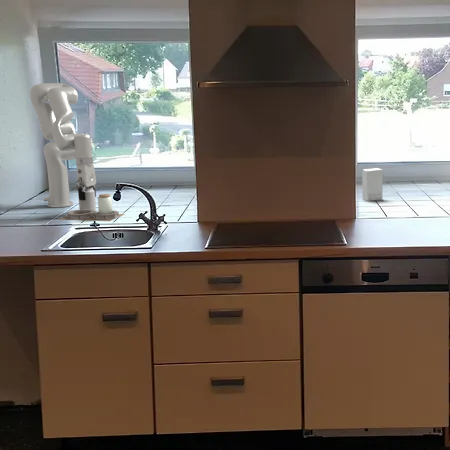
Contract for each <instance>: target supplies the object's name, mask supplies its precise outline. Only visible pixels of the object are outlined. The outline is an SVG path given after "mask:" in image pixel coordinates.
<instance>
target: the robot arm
mask: <svg viewBox="0 0 450 450" xmlns="http://www.w3.org/2000/svg"><path fill="white" fill-rule="evenodd" d="M29 94H30V97H29V98H30V101H31V104H32V107H33V109H34V110H35V112H36V114H37V117H38V121H39V126H40V129H41V132H42V133H41V134H42V136H43V138H44V139H45V140H48V141H51V142H48V143H46V144H45V145H44V147H43V154H44V159H45V162H46V170H47V178H48V179H47V180H48V190H49V193H48V194H49V196H44V198H43V202H47V203H46V204H47V207H48V208H65V207H67V208H68V207H70V206H73V205H74V201H72V200H71V199H70V187H69V185H70V184H69V175H68V174H69V173H68V168H67V166H66V165H65V164H64V163H63V161H70V160H75V164H76V182H75V186H76V189H77V192H78V193H77V195H78V194H79V196H78V201H79V200H86V196H85V192H84V190H85V187H93V190H94V191H95V198H97V194H96V193H97V190H96V186H97V177H96V169H95V165H94V161H93V159H94V158H93V151H92V138H91V136H90V134H88V133H86V134H85V133H77V132H76V129H75V128H76V127H75V125H74V124H73V122H72V121H71V120H72V119H73V118H74V112H73V110H72V107H71V105H72V106H73V105H76V104H77V103H78V101H79V94H78V91H77V90H76V89H75V87H73V86H71V85H69V84H66V83H62V82H54V83H53V82H51V83H49V82H48V83H47V82H45V83H38V84H34V85H33V86H31V88H30V91H29ZM48 102H49V103H48ZM53 140H54V141H53ZM82 187H83V188H82Z"/></svg>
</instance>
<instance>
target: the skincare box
mask: <svg viewBox="0 0 450 450" xmlns="http://www.w3.org/2000/svg"><path fill="white" fill-rule="evenodd" d="M361 173H362V174H361V175H362V176H361V177H362V178H361V182H362V183H361V185H362V190H361V191H362V192H361V193H362V195H361V196H362V200H364V201H366V202H370V201H379V200H383V182H384V181H383V180H384V179H383V178H384V176H383V173H384V170H383V169H382V168H379V167H374V168H364V169H362V170H361Z"/></svg>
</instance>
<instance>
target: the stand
mask: <svg viewBox="0 0 450 450" xmlns="http://www.w3.org/2000/svg"><path fill="white" fill-rule="evenodd" d="M124 215H125V214H124V213H120V212H119V211H117V210H113V213H112V214H99V210H96V211H95V210H91V209H81V210H80V209H74V210H73V209H72V210H70V211H67V212H66V215H65V216H62V217H60V218H59V220H60V221H61V220H63V221H64V220H66V221H68V220H69V221H94V222H95V221H97V222H111V221H113V220H115V219H118V218H121V217H122V216H124Z"/></svg>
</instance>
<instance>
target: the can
mask: <svg viewBox="0 0 450 450" xmlns="http://www.w3.org/2000/svg"><path fill="white" fill-rule="evenodd" d="M81 188H83V187H81ZM84 192H85V196H86V200H79V199H78V207H79V209H78V210H81V209H91V210H95V211H96V212H97V205H96V197H95V191H94V190H93V187H86V186H85V190H84ZM77 195H78V197H79V194H78V193H77Z"/></svg>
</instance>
